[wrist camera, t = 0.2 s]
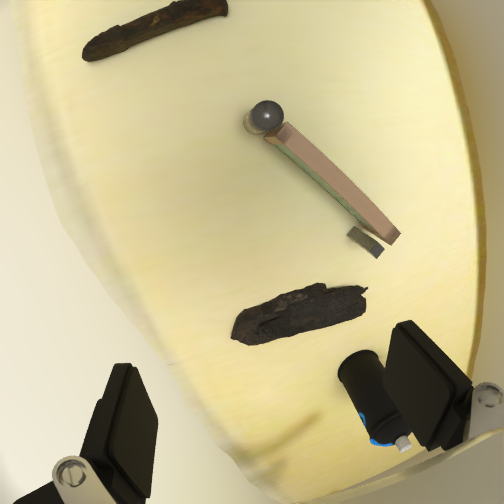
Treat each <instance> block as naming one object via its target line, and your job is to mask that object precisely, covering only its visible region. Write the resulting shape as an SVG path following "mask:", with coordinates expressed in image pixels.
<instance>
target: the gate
mask: <svg viewBox="0 0 504 504" xmlns="http://www.w3.org/2000/svg"><path fill="white" fill-rule="evenodd" d="M264 139H266V140H267V141H268V142H269V143H270V144H274V145H275V146H277V147H278V148H279V149H280V150H281V151H283V152H284V153H285V154H286V155H287V156H288V157H290V158H291V159H292V160H293V161H294V162H295V163H297V164H298V165H299V166H300V167H301V168H302V169H303V170H305V171H306V172H307V173H308V174H309V175H310V176H311V177H313V178H314V179H315V180H316V181H317V182H318V183H319V184H320V185H321V186H322V187H324V188H325V189H326V190H327V191H328V192H329V193H330V194H331V195H332V196H333V197H334V198H336V199H337V200H338V201H339V202H340V203H341V204H342V205H343V206H344V207H345V208H346V209H347V210H348V211H349V212H350V213H351V214H352V215H353V216H354V217H355V218H356V219H357V220H359V221H360V222H359V223H360V224H361V225H362V226H363V227H364V228H365V229H366V230H367V231H369V232H370V233H372V234H374V235H375V236H377V237H378V238H380V239H381V240H383V241H385V242H386V243H388V244H389V245H392V244H393V243H394V242H395V240H396V239H397V238H398V237H399V235H400V234H401V233H400V232H399V231H398V229H397V228H396V227H395V226H394V225H393V224H392V223H391V222H390V221H389V219H388V218H387V217H386V216H385V215H384V214H383V213H382V212H381V211H380V210H379V209H378V208H377V206H376V205H375V204H374V203H373V202H372V201H371V200H370V199H369V198H368V197H367V196H366V195H365V194H364V193H363V192H362V191H361V190H360V189H359V188H358V187H357V186H356V185H355V184H354V183H353V182H352V181H351V180H350V179H349V178H348V177H347V176H346V175H345V174H344V173H343V172H342V171H341V170H340V169H339V168H338V167H337V166H336V165H335V164H334V163H333V162H332V161H330V160H329V159H328V158H327V157H326V156H325V155H324V154H323V153H322V152H321V151H320V150H319V149H317V148H316V147H315V146H314V145H313V144H312V143H311V142H310V141H309V140H307V139H306V138H305V137H304V136H303V135H302V134H301V133H300V132H298V131H297V130H296V129H295V128H294V127H293V126H291V125H290V124H289V123H288V122H286V123H282V124H281V125H280V126H279V127H278V128H276V129H274V130H271V131H269V132H268V134H267V135H266V136H265V137H264Z"/></svg>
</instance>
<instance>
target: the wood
mask: <svg viewBox="0 0 504 504" xmlns="http://www.w3.org/2000/svg"><path fill="white" fill-rule="evenodd" d="M367 289H368V287H367V288H365V289H363V287H360V286H347V287H343V288H339V289H335V288H332V289H330V290H327V288H326V285H325V284H322V283H316V284H313V285H310V286H307V287H305V288H303V289H299V290H294V291H292V292H288V293H286V294H280V295H279V296H278V297H276V298H275V299H273V300H271V301H269V302H266V303H264V304H262V305H258V306H255V307H252V308H249V309H244V310H243V311H242V312H241V313H240V314H239V315H238V316H237V318H236V322H235V324H234V327H233V331H232V335H231V339H233V340H238V341H239V342H241V343H244V344H246V345H249V346H250V345H259V344H264V343H267V342H270V341H273V340H276V339H278V338H283V337H291V336H294V335H296V334H298V333H303V332H306V331H311V330H316V329H321V328H325V327H329V326H332V325H335V324H339V323H341V322H345V321H349V320H352V319H355V318H357V317H359V316H362V314H363V313H365V311H366V299H365V298H363V297H362V296H361V294H363V293H364V292H365V291H366V290H367Z"/></svg>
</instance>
